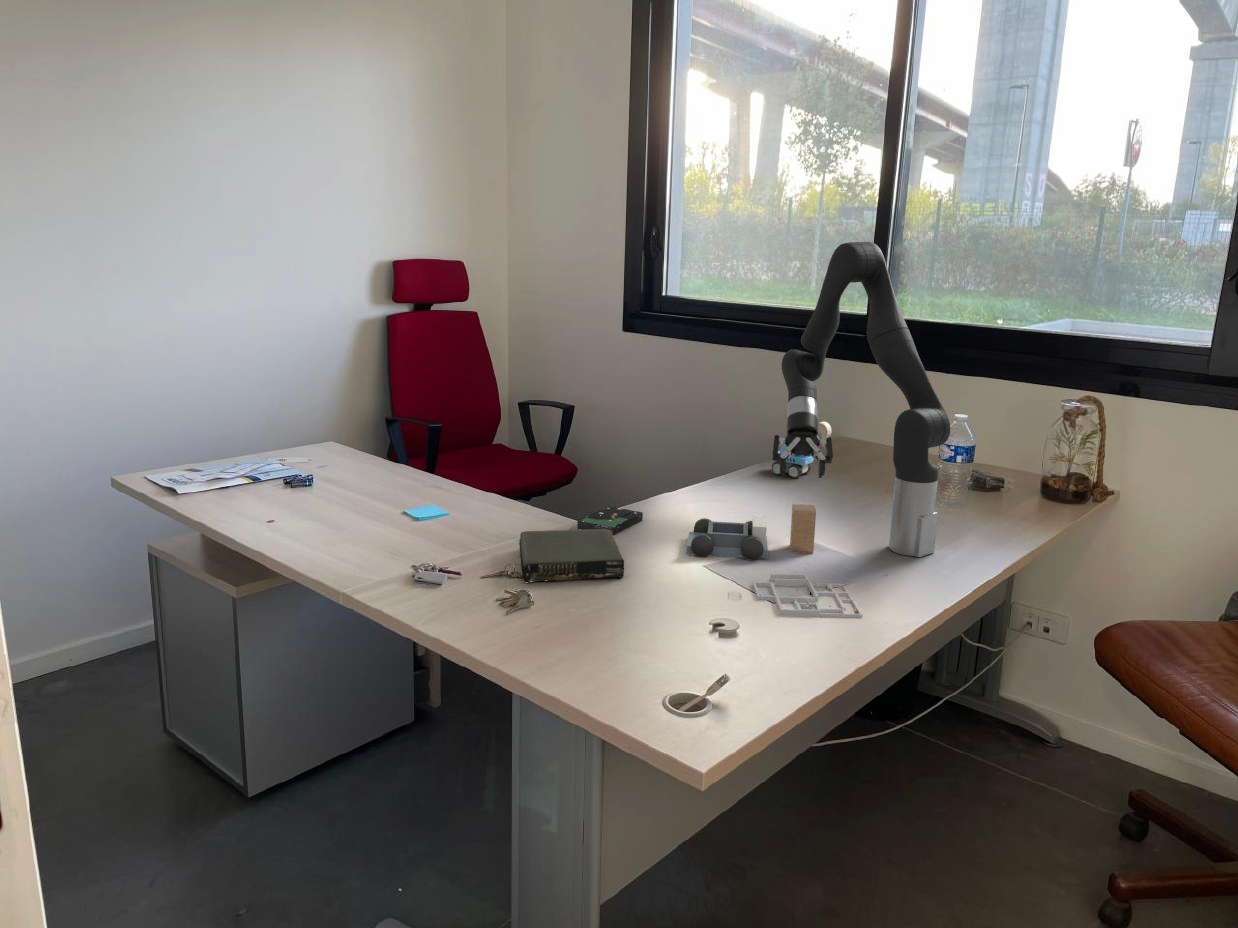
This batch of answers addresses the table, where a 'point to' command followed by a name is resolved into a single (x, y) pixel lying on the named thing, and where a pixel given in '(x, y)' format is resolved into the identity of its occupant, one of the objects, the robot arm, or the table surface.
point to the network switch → (569, 555)
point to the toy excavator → (801, 456)
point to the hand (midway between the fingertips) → (802, 475)
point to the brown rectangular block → (802, 528)
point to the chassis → (729, 539)
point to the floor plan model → (801, 601)
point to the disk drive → (610, 519)
